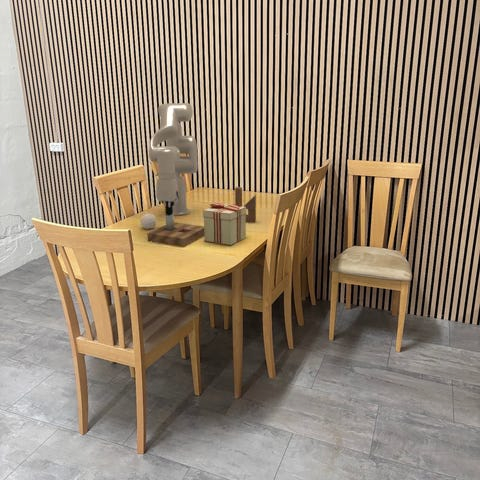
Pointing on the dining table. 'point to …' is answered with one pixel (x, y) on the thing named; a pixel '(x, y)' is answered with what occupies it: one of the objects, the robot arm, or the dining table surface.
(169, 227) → the peg
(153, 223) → the geometric ball
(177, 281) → the dining table surface
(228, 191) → the dining table surface
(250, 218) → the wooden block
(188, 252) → the dining table surface
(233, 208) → the gift box
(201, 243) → the dining table surface
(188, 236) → the board
